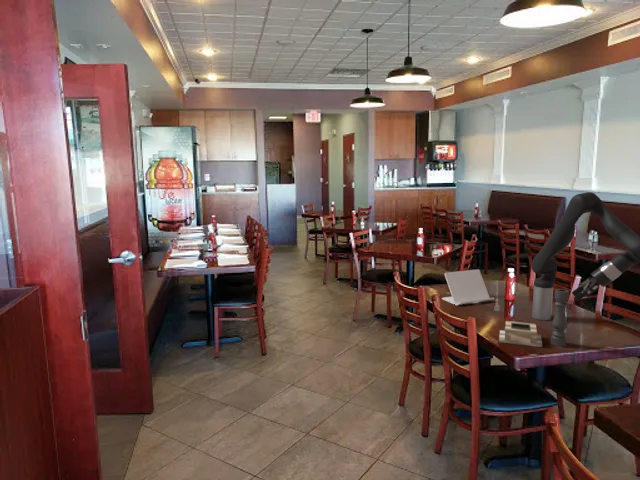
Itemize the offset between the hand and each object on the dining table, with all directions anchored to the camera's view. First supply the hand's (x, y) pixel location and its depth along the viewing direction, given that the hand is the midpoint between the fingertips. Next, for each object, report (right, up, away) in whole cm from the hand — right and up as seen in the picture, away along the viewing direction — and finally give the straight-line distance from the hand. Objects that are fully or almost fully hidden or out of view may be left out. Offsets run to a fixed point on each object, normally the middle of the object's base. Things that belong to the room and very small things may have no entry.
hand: (574, 297), depth 211 cm
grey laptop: (-24, -11, +75) cm, 80 cm away
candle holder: (-4, -22, +5) cm, 23 cm away
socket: (-19, -21, +11) cm, 31 cm away
